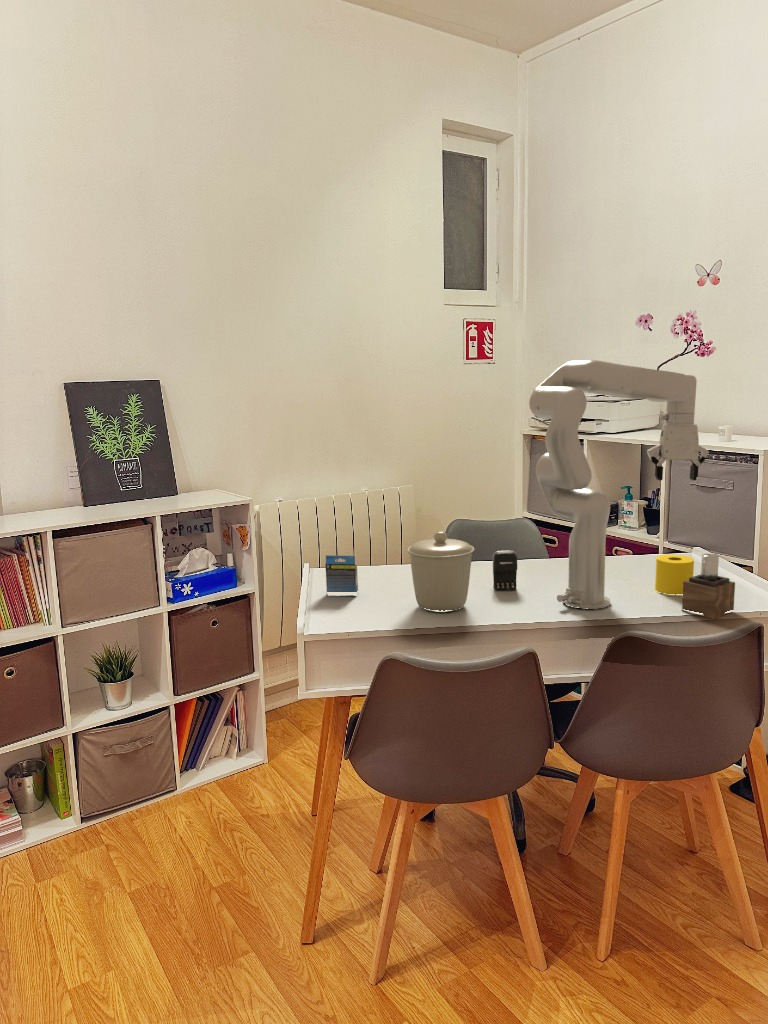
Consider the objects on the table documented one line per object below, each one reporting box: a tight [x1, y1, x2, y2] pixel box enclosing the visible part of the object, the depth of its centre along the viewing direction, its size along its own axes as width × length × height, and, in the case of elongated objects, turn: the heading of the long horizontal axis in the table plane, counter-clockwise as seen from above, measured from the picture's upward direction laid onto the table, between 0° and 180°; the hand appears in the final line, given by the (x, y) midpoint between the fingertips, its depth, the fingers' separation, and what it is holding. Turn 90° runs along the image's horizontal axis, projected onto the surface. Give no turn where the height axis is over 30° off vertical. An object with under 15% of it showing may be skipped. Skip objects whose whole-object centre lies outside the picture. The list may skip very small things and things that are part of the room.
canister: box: [406, 531, 475, 611], centre depth 215 cm, size 18×18×21 cm
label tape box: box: [325, 554, 359, 593], centre depth 231 cm, size 9×4×12 cm, turn 83°
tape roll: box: [654, 554, 695, 595], centre depth 226 cm, size 10×10×9 cm
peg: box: [700, 553, 720, 582], centre depth 205 cm, size 4×4×8 cm
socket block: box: [681, 573, 736, 620], centre depth 207 cm, size 9×9×9 cm
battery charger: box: [492, 550, 518, 591], centre depth 231 cm, size 7×4×11 cm, turn 89°
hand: (676, 479), depth 227 cm, fingers open, 9 cm apart
